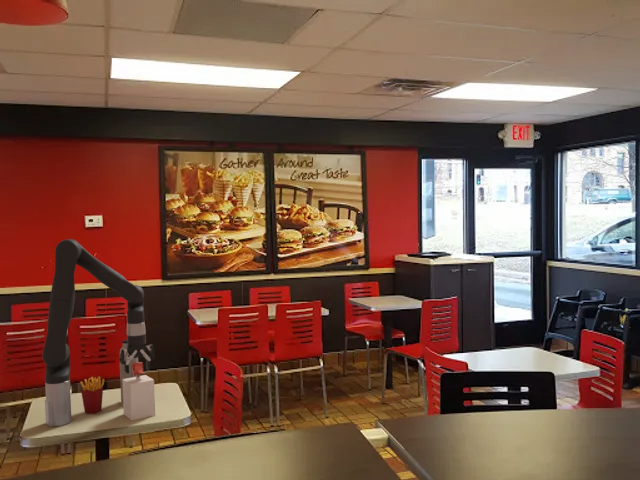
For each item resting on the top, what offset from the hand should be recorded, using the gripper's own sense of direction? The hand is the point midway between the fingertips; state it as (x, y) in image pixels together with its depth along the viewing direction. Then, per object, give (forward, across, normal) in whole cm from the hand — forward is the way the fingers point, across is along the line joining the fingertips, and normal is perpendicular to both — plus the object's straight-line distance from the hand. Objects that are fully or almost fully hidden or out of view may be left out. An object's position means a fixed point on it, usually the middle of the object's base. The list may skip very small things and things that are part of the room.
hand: (137, 371), depth 252 cm
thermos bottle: (+19, +3, +20) cm, 27 cm away
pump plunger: (+16, 0, 0) cm, 16 cm away
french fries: (+19, -14, +18) cm, 29 cm away
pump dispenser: (+18, 0, 0) cm, 18 cm away
